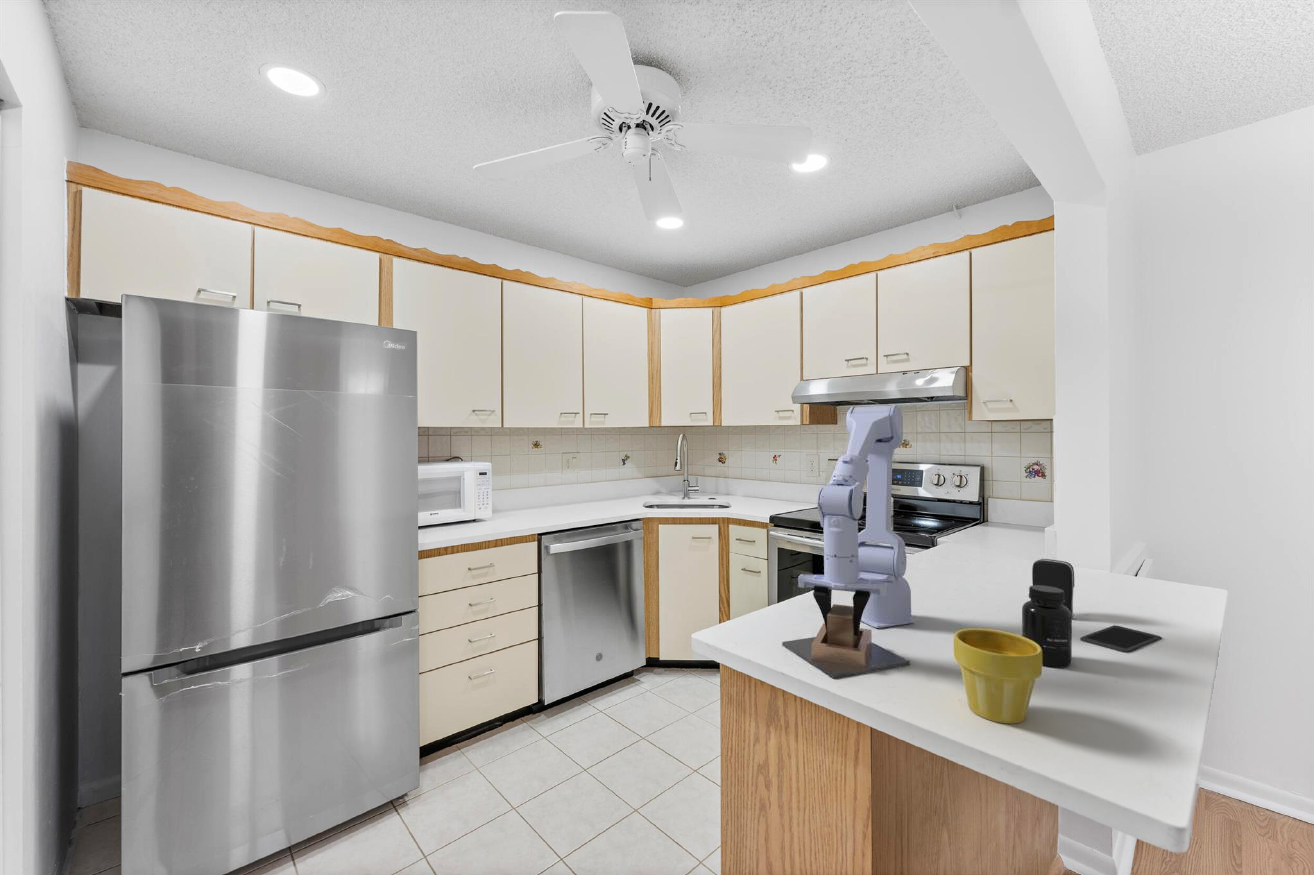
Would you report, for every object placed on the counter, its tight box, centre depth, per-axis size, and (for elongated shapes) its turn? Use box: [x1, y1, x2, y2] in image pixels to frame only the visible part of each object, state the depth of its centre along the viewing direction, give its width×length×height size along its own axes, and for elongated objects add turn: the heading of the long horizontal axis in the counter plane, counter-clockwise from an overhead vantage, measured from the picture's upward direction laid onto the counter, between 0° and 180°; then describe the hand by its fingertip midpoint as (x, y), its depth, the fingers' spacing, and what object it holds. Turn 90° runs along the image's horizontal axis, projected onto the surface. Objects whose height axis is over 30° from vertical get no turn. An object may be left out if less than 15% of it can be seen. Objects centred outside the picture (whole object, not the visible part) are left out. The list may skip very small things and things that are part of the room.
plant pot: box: [953, 627, 1043, 725], centre depth 75 cm, size 10×10×10 cm
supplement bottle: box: [1021, 584, 1073, 668], centre depth 92 cm, size 7×7×12 cm
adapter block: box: [827, 603, 857, 648], centre depth 96 cm, size 4×7×6 cm, turn 153°
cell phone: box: [1079, 624, 1162, 654], centre depth 101 cm, size 7×14×1 cm, turn 118°
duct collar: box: [781, 623, 911, 680], centre depth 96 cm, size 15×15×3 cm
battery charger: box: [1031, 558, 1075, 619], centre depth 115 cm, size 7×4×11 cm, turn 43°
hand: (842, 632), depth 96 cm, fingers closed on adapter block, 4 cm apart
